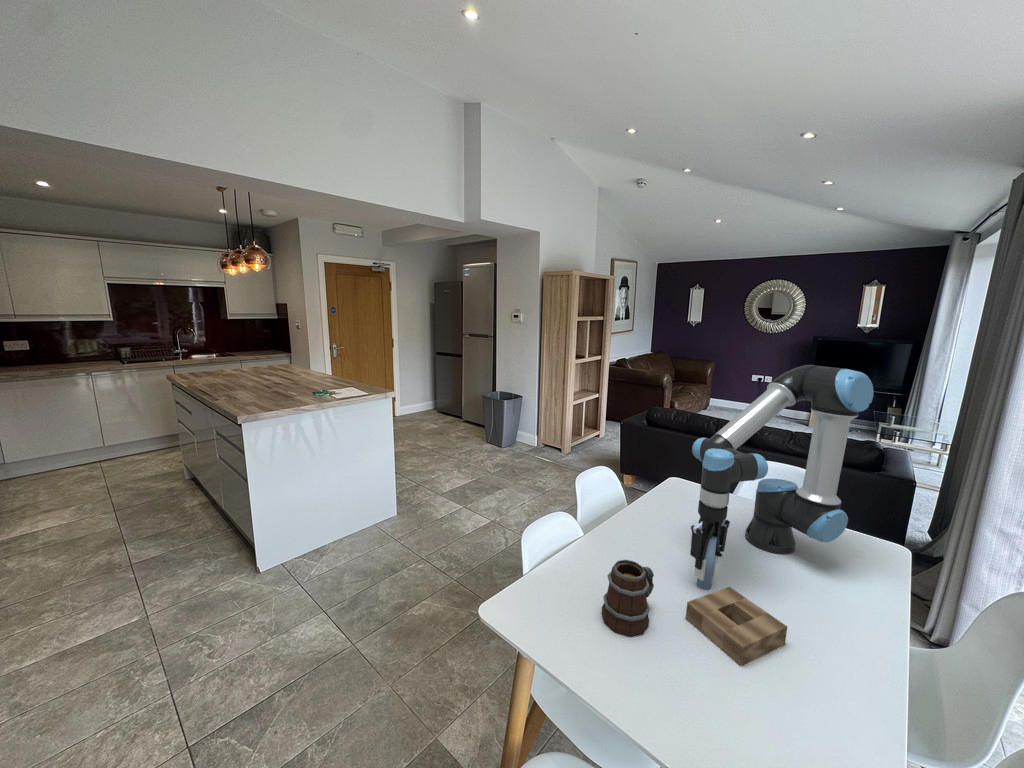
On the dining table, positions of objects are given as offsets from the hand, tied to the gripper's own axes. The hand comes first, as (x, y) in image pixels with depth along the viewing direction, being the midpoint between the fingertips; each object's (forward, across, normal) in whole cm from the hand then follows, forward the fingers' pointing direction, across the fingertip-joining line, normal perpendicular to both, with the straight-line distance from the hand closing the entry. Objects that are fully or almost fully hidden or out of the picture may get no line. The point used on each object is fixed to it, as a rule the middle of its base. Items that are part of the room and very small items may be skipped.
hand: (704, 575), depth 122 cm
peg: (+3, 0, 0) cm, 3 cm away
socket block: (+3, +8, +16) cm, 18 cm away
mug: (+3, +29, +2) cm, 29 cm away
